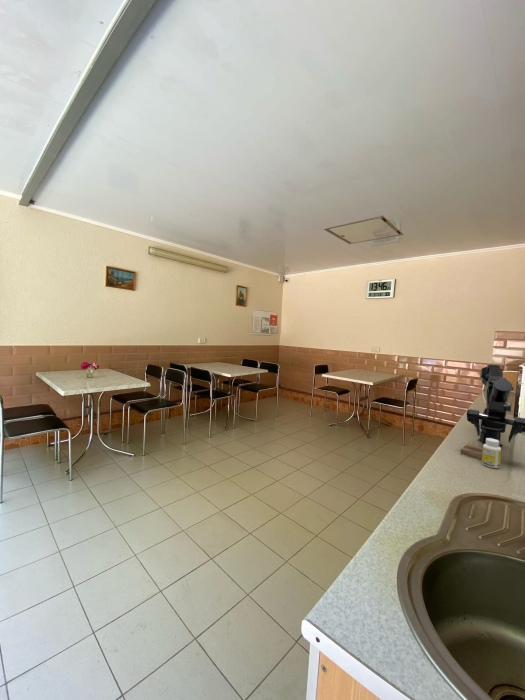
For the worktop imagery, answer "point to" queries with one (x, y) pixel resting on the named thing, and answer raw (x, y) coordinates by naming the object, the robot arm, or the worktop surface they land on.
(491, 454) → the supplement bottle
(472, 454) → the dock
